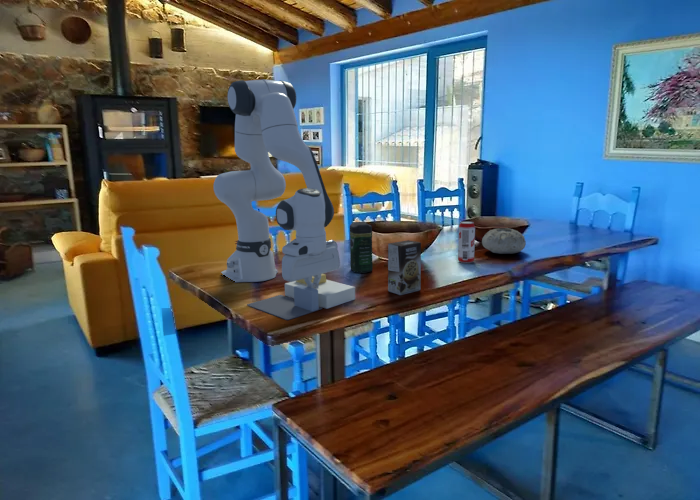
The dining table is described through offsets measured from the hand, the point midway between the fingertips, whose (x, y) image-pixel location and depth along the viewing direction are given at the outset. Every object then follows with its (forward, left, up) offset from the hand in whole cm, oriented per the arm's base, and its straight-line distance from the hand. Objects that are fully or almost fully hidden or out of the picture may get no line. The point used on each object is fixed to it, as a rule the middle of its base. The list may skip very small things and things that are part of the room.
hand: (313, 289), depth 153 cm
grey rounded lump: (+8, +100, -5) cm, 100 cm away
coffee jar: (-18, +40, -5) cm, 44 cm away
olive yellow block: (-10, +8, 0) cm, 13 cm away
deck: (-5, +7, -5) cm, 10 cm away
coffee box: (+11, +30, -5) cm, 32 cm away
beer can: (+5, +76, -5) cm, 76 cm away
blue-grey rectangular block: (0, -3, -2) cm, 4 cm away
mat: (-6, -7, -5) cm, 10 cm away
